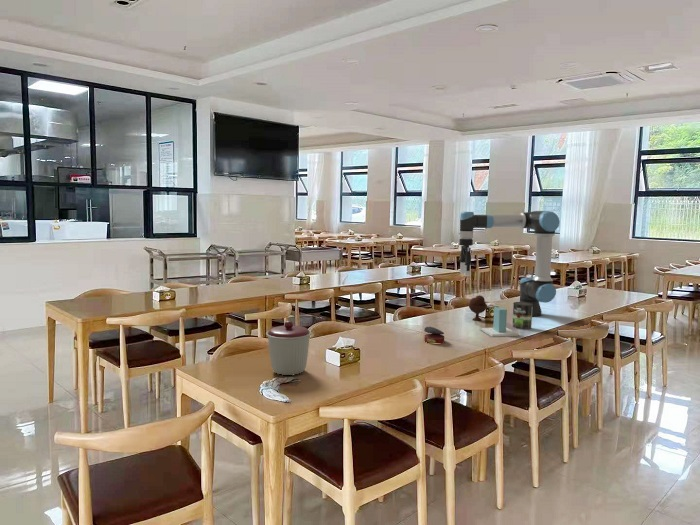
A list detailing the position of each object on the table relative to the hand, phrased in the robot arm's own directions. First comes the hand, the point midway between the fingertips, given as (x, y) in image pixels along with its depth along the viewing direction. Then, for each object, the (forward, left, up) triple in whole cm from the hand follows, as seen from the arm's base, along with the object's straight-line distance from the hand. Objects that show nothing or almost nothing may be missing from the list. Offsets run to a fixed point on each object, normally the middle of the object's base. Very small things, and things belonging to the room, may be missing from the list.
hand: (464, 275), depth 301 cm
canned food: (+30, +42, -28) cm, 59 cm away
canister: (+103, +81, -28) cm, 134 cm away
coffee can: (-27, +20, -28) cm, 43 cm away
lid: (-9, +31, -27) cm, 42 cm away
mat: (-9, +31, -28) cm, 42 cm away
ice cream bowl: (-10, -3, -28) cm, 29 cm away
